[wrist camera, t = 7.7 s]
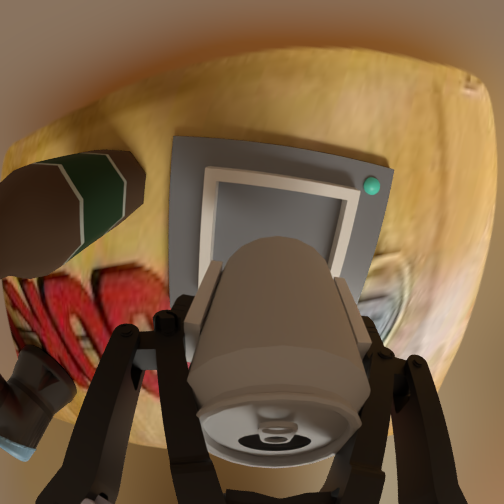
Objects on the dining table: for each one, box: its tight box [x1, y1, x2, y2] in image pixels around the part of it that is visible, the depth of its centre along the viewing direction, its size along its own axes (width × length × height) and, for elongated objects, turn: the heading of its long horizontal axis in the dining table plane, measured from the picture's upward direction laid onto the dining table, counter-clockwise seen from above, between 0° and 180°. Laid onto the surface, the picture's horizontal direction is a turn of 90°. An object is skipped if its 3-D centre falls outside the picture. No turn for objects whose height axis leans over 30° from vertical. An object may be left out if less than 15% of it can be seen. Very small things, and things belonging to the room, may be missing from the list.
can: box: [187, 236, 371, 468], centre depth 13 cm, size 8×8×12 cm
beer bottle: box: [0, 150, 146, 279], centre depth 14 cm, size 8×8×24 cm
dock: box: [169, 136, 394, 308], centre depth 25 cm, size 20×18×2 cm
